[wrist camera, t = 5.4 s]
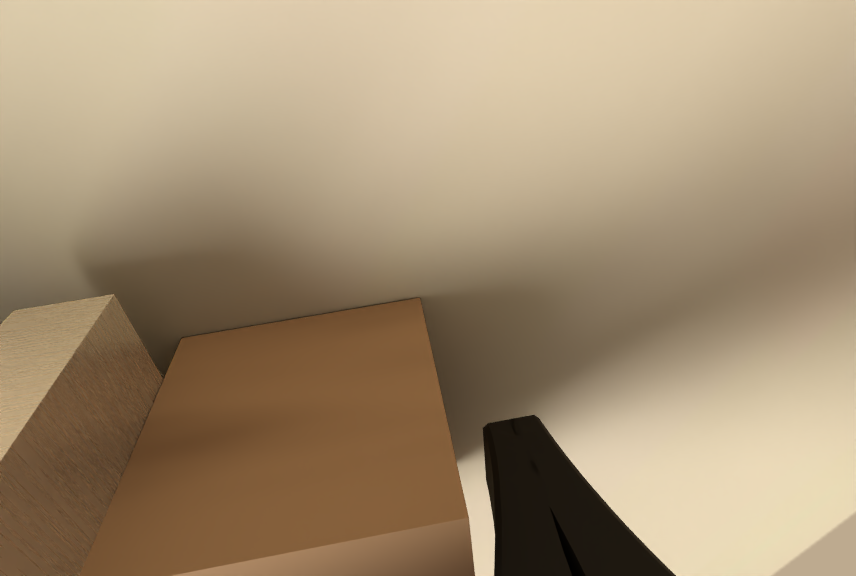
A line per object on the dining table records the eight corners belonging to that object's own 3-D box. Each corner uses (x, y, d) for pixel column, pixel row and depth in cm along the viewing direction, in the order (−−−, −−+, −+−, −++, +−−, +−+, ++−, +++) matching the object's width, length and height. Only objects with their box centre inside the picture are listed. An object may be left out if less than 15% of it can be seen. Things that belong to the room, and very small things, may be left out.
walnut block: (444, 470, 14) (487, 686, 10) (266, 504, 14) (231, 741, 9) (419, 297, 10) (468, 517, 6) (181, 338, 10) (70, 595, 6)
